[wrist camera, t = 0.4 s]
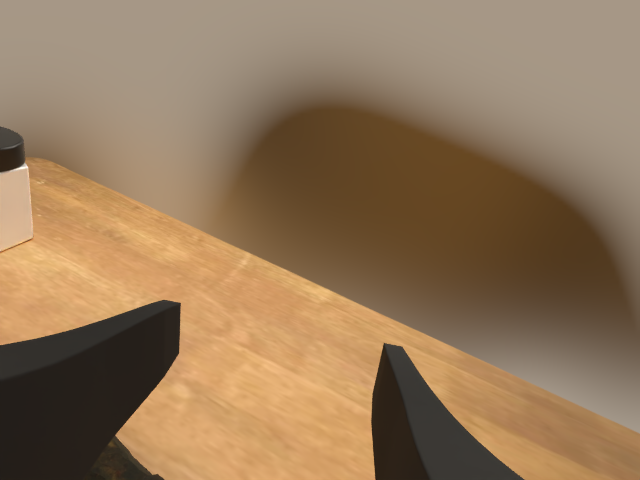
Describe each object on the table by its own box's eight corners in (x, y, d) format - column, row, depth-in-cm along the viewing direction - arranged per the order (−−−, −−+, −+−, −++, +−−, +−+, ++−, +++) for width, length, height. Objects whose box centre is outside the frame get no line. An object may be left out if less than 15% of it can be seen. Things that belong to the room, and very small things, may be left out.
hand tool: (-5, 414, 27) (-13, 372, 25) (56, 383, 30) (53, 344, 28) (154, 646, 20) (162, 615, 17) (212, 573, 23) (225, 539, 21)
